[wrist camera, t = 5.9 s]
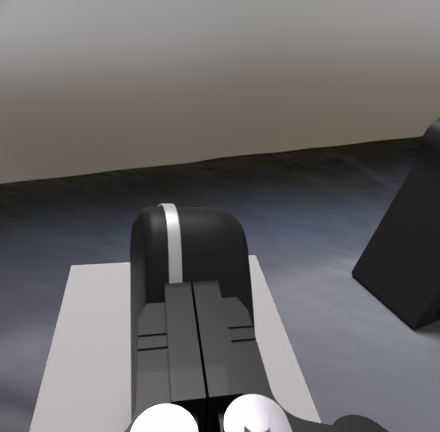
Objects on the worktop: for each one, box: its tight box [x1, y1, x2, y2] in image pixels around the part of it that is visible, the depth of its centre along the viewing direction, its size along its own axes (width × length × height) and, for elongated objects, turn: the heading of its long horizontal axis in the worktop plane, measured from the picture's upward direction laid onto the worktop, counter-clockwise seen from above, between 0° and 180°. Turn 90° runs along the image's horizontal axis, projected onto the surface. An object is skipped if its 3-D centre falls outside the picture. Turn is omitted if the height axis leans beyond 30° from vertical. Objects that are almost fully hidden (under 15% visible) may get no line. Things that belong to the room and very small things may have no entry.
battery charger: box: [130, 204, 255, 421], centre depth 15 cm, size 7×4×11 cm
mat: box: [29, 255, 321, 432], centre depth 24 cm, size 14×14×1 cm
